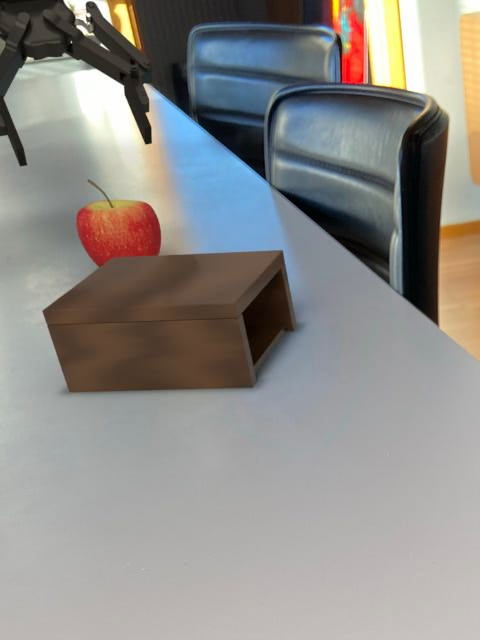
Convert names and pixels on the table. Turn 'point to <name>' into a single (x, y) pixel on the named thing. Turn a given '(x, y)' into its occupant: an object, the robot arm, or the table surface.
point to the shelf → (172, 322)
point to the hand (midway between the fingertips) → (86, 147)
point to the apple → (118, 229)
